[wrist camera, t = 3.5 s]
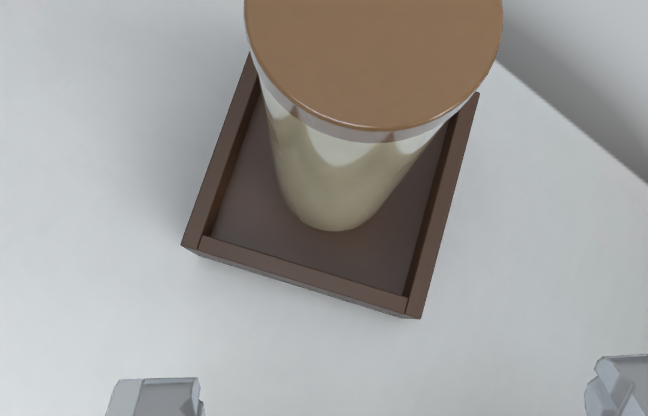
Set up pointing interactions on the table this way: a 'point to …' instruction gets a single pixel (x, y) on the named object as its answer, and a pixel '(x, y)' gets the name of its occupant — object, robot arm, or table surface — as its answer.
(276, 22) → the cylindrical canister
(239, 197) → the tray
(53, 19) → the table surface
